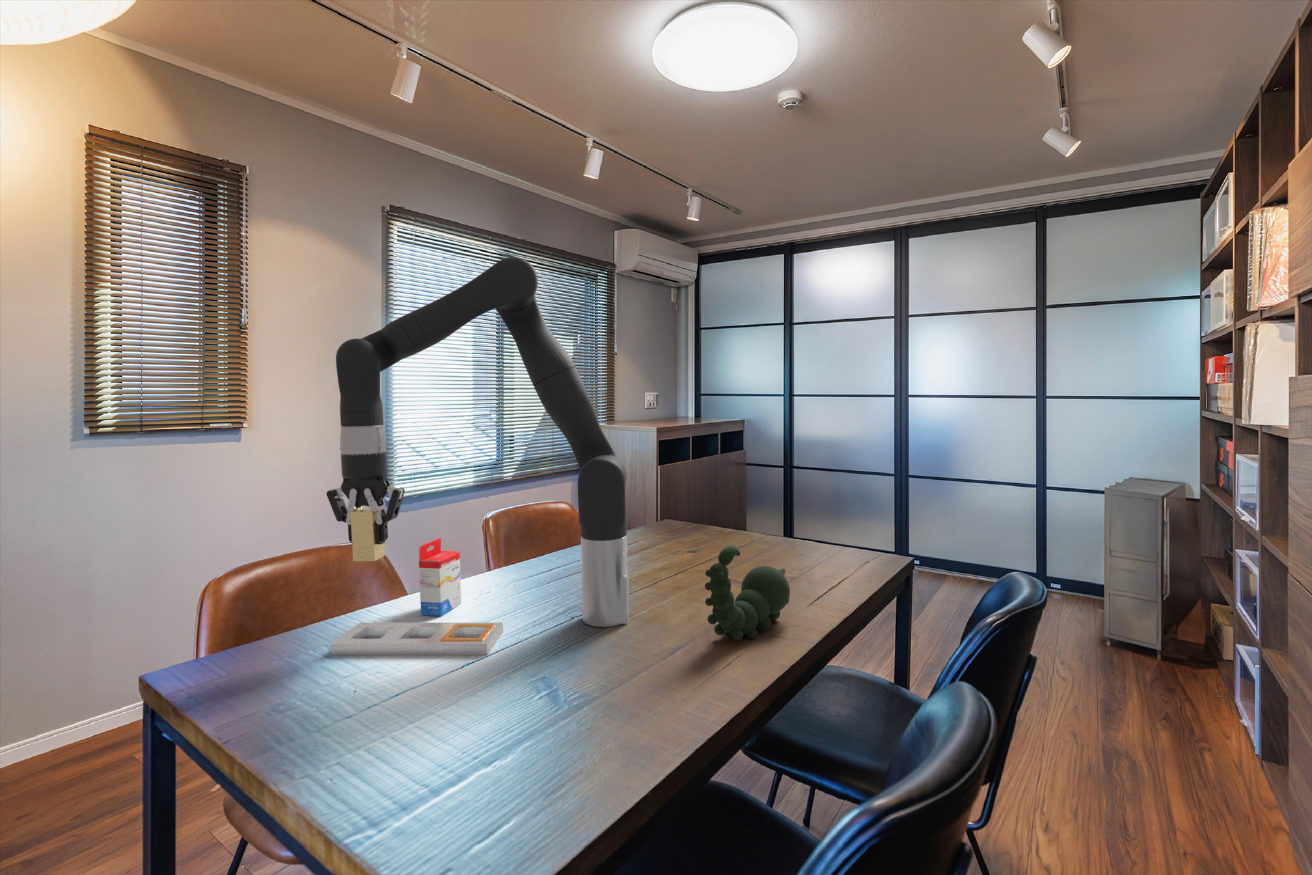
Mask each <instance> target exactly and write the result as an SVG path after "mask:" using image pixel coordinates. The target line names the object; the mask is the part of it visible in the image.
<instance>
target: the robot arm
mask: <svg viewBox="0 0 1312 875" xmlns="http://www.w3.org/2000/svg"><path fill="white" fill-rule="evenodd" d="M537 274H538V273H537V271H536V269H535V267H534V266H533V265H532V264H531V263H530V262H529V261H528V260H526V259H524V258H521V257H518V256H509V257H504V258H503V259H500V260H498V261H497V262H496V263H495V264H493V265H492V266H490V267H489V268H487V269H486V270H485V271H483V272H482V273H480V274H479V275H478V276H476V277H474V278H473V279H472V280H470V281H468V282H467V283H465V284H464V285H462V286H460V287H458V288H457V289H455V290H453V291H451V292H449V293H447V294H445V295H444V296H442V297H439V298H438V299H436V300H434V301H432V302H430V303H428V304H426V305H423V306H422V307H419V308H417V309H415V310H413V311H410V312H408V313H406V314H404V315H401V316H400V317H398V318H395V319H394V320H392V321H390V322H389V323H387V324H385V326H383V327H382V328H381V329H380V330H378V331H375V332H373V333H371V334H368V335H365V336H364V337H362V338H350V339H348V340H346V341H344V342H343V343H342V344H340V345H339V347H338V349H337V350H336V355H335V366H336V375H337V384H338V390H339V396H340V399H339V416H340V417H339V418H340V435H339V444H340V445H339V450H340V465H341V469H340V470H341V477H342V483H341V484H340V487H337V488H332V489H330V490H327V491H326V497H327V499H328V502H329V504H330V508H331V509H332V512H333V514H334V517H335V519H336V521H337V522H341V523H342V522H343V523H345V524H347V530H348V531H347V532H348V541H349V542H351V543H350V544H352V531H351V513H350V512H354V511H357V510H359V509H362V508H364V507H367V508H370V510H371V512H372V511H373V512H374V513H375V521H376V523H377V525H376V543H377V544H383V543H385V544H386V540H388V538H389V530H388V526H389V525H388V523H389V522H390V521H392V520H395V519H397V518H398V516H399V513H400V509H401V505H402V503H403V498H404V496H405V495H404V494H405V492H406V490H405V488H404V487H399V488H398V487H396V486H392V485H391V483H390V482H389V479H388V458H387V456H388V454H387V438H386V433H385V425H384V408H383V402H382V397H381V372H383V371H385V370H387V369H388V368H391V367H392V366H393V365H395V364H397V363H399V362H400V361H402V360H404V359H407V358H411V357H412V356H414V355H417V354H419V353H420V352H422V351H424V350H427V349H429V348H431V347H433V346H434V345H437V344H438V343H440V342H442V341H444V340H445V339H446V338H449V337H450V336H451V335H453V334H454V333H455V332H457V331H458V330H460V329H462V327H464V326H465V325H467V324H468V323H470V322H471V321H472V320H475V319H477V318H478V317H480V316H482V315H483V314H485V313H488V312H490V311H493V310H496V311H497V313H498V315H499V316H500V318H501V320H502V322H503V323H504V324H505V326H506V328H507V330H508V332H510V335H511V337H512V338H513V341H514V342H515V344H516V347H517V350H518V352H519V355H520V357H521V361H522V362H523V365H524V367H525V369H526V372H527V374H528V376H529V379H530V381H531V383H532V386H533V388H534V390H535V393H536V395H537V396H538V399H539V400H540V402H541V404H542V406H543V408H544V410H545V411H546V412H547V414H548V416H549V417H550V418H551V420H552V422H553V423H554V424H555V426H556V427H557V428H558V429H559V430H560V433H561V434H562V435H563V436H564V437H565V439H566V440H567V442H568V445H569V446H570V448H571V450H572V452H573V455H574V457H575V459H576V462H577V465H578V468H579V473H578V476H577V504H578V505H577V506H578V507H577V508H578V523H579V527H580V554H581V556H580V557H581V558H580V560H581V562H580V563H581V564H580V565H581V598H582V601H581V602H582V603H581V604H582V607H581V608H582V621H583V623H585V624H586V625H589V626H592V627H596V628H597V627H598V628H605V627H606V628H607V627H614V626H618V625H627V624H628V621H629V616H630V590H629V588H630V586H629V584H630V583H629V582H630V581H629V579H630V578H629V576H630V575H629V569H628V537H627V536H628V534H627V532H628V531H627V530H628V529H627V526H628V525H627V516H626V483H627V479H628V478H627V472H626V471H627V470H626V468H625V465H624V464H623V462H622V461H621V460H620V458H619V456H618V454H616V452H615V450H614V448H613V447H612V445H611V443H610V442H609V440H608V438H607V437H606V435H605V433H604V431H603V430H602V427H601V425H600V422H599V420H598V417H597V413H596V411H595V409H594V406H593V402H592V401H591V398H590V395H589V393H588V391H587V389H586V386H585V384H584V382H583V380H582V377H581V375H580V373H579V371H578V369H577V367H576V365H575V363H574V361H573V360H572V358H571V356H570V354H569V353H568V352H567V351H566V349H565V348H564V347H563V345H562V344H561V342H560V341H559V340H558V339H557V338H556V337H555V335H554V334H553V333H552V331H551V330H550V329H549V326H548V325H547V323H546V321H545V319H544V316H543V313H542V312H541V309H540V307H539V304H538V302H537V298H536V293H537V290H538V283H539V277H538V275H537ZM387 493H388V498H389V503H388V506H387V505H386V502H385V496H386V495H387ZM345 497H346V498H347V499H348V503H347V504H346V503H345V500H344V498H345Z"/></svg>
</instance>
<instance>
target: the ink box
mask: <svg viewBox="0 0 1312 875" xmlns="http://www.w3.org/2000/svg"><path fill="white" fill-rule="evenodd" d="M430 547H433V548H431V549H430ZM428 549H430V550H428ZM460 554H461V552H460V551H455V550H442V538H441V537H439V538H437V539H434V540H431V541H429V542H426V543H424V544H422V545H420V546H419V549H418V559H419V560H418V575H419V577H418V578H419V597H420V598H419V599H420V615H421V616H432V617H442V616H444V615H445V614H447V613H449V612H450V611H452V610H453V609H455V608H456V607H458V606H460V605H461V604H462V588H461V587H462V584H461V581H462V580H461V555H460Z"/></svg>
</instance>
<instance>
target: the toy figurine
mask: <svg viewBox="0 0 1312 875" xmlns="http://www.w3.org/2000/svg"><path fill="white" fill-rule="evenodd" d="M740 555H741V552H740V550H739V548H737V547H736V546H734V545H728V546H726V547H724V548H723V549H722V550H721V551H720V553H719V554H718V556H717V559H718V560H717V561H718V562H716V563H714V564H712V565H711V566H710V567H709V569H707V570H705V572H704V574H705V576H706V577H708V578H710V580H709V581H708V582H705V584H704V589H706V590H707V591H710V592H711V594H710V597H706V598H705V599H704V600H705V601H704V603H705V605H706V606H707V607H711V606H712V610H711V613H712V614H710V613H709V615H708V616H707V622H708V624H710V625H712V626H713V625H714V628H713V630H714V633H715V634H716V635H718V636H722V635H725V634H726V633H728V634H730V636H731V638H732V639H733V640H735V641H740V640H742V638H744V635H746V638H749V639H751V640H755V639H756V638H757V635H758V630H757V628H756V627H757V626H758V628H759V629H760V630H763V631H766V630H768V629H769V630H770V628H771V626H772V621H776V620H778V619H779V618H780V616H781V610H783V609H784V608H785V607H786V606H787V605H788V604H789V603H790V595H791V588H790V585H789V581H788V579H787V577H786V576H785V574H786V568H779V569H778V568H776V567H773V566H770V565H760V566H755V568H752V569H751V570H750V571H749V572H747V573H746V575H745V576H744V578H743V579H742V582H741V587H740V588H741V590H740V592H739V593H738V595H736V597H735V596H734V593H733V592H732V590H731V589H732V582H731V579H730V578H729V574H730V573H729V569H728V568H727V566H728V565H730V564H731V563H732V561H733V559H734V558H735V557H740Z"/></svg>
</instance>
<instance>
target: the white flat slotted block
mask: <svg viewBox="0 0 1312 875" xmlns="http://www.w3.org/2000/svg"><path fill="white" fill-rule="evenodd" d="M503 634H504V623H503V622H359V623H358V624H357V625H355V626H353V627H352V628H350V629H349V630H348V631H347V632H345V633H344V634H343V635H341V636H340V637H339V638H337V639H335V640H334V641H332V643H331V644H330V650H331V655H332V656H335V655H336V656H337V655H342V656H343V655H344V656H345V655H349V656H350V655H354V656H355V655H356V656H357V655H360V656H365V655H367V656H368V655H369V656H370V655H373V656H375V655H376V656H377V655H378V656H379V655H380V656H383V655H385V656H386V655H387V656H390V655H393V656H394V655H395V656H396V655H397V656H398V655H399V656H404V655H406V656H408V655H409V656H410V655H415V656H417V655H419V656H421V655H422V656H423V655H429V656H433V655H434V656H435V655H437V656H439V655H440V656H445V655H447V656H448V655H449V656H450V655H451V656H453V655H454V656H455V655H459V656H463V655H465V656H470V655H471V656H475V655H477V656H478V655H481V656H487V655H489V653H490V652H491V651H492V649H493V648H494V646H495V645H496V644H497V642H498V640H499V639H500V638H501V636H502V635H503Z"/></svg>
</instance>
